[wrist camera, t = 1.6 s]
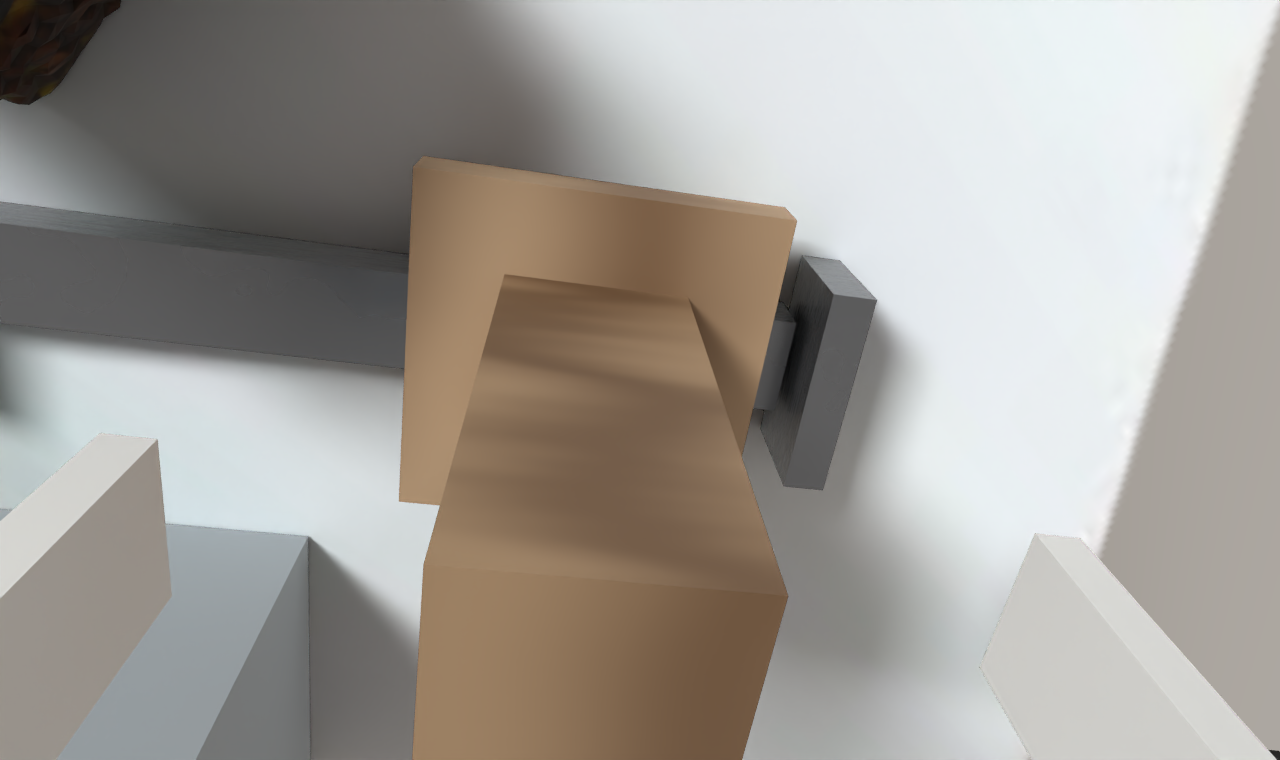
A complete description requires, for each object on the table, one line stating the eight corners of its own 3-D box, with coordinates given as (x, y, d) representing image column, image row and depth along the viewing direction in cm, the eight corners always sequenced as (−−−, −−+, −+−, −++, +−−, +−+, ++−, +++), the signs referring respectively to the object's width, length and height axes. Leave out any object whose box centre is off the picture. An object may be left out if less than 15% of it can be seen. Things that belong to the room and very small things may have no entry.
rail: (-122, 330, 21) (-228, 382, 18) (-172, 122, 19) (-300, 146, 16) (795, 431, 23) (822, 490, 21) (839, 260, 21) (876, 300, 19)
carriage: (419, 444, 23) (248, 919, 11) (435, 143, 19) (215, 372, 8) (709, 473, 24) (828, 939, 12) (770, 191, 20) (1015, 460, 9)
